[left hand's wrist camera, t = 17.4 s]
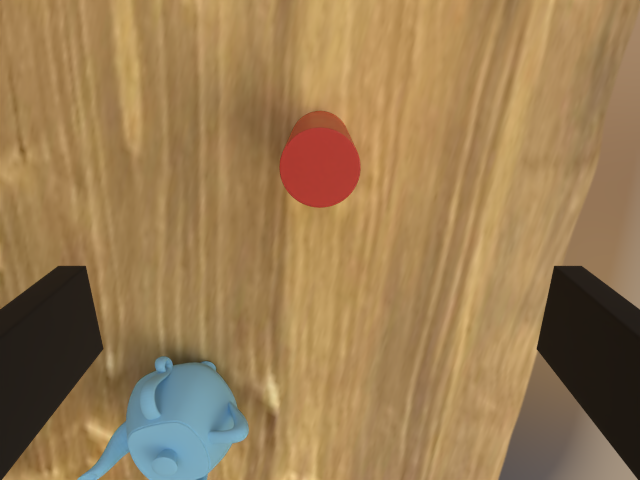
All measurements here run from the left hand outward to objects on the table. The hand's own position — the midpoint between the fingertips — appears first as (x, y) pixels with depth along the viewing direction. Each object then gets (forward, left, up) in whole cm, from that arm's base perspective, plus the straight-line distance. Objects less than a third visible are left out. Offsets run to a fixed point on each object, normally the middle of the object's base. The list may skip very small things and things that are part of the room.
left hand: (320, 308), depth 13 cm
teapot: (+23, +25, -32) cm, 47 cm away
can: (0, 0, -32) cm, 32 cm away
